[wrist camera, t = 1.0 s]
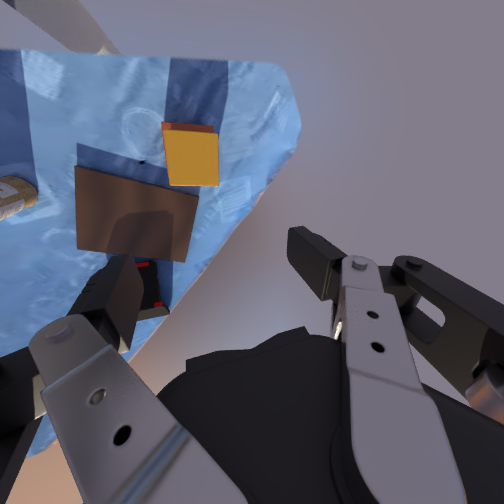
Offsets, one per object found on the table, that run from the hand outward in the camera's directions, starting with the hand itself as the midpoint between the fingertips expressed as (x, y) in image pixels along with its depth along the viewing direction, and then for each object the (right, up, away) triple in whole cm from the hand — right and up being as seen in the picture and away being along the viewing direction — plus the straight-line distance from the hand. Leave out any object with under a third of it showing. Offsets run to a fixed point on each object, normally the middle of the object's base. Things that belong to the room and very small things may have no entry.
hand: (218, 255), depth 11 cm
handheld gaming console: (-20, -8, +27) cm, 35 cm away
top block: (-6, +12, +15) cm, 20 cm away
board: (-18, +6, +26) cm, 32 cm away
